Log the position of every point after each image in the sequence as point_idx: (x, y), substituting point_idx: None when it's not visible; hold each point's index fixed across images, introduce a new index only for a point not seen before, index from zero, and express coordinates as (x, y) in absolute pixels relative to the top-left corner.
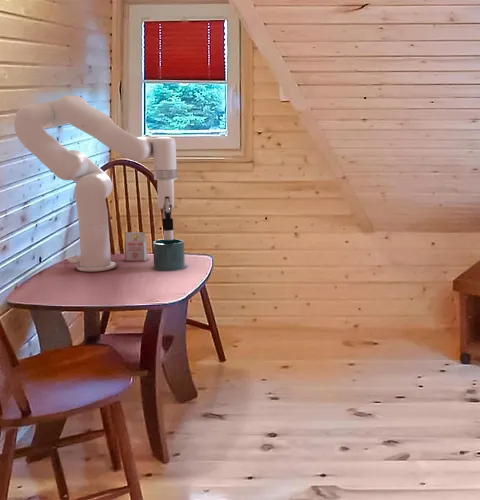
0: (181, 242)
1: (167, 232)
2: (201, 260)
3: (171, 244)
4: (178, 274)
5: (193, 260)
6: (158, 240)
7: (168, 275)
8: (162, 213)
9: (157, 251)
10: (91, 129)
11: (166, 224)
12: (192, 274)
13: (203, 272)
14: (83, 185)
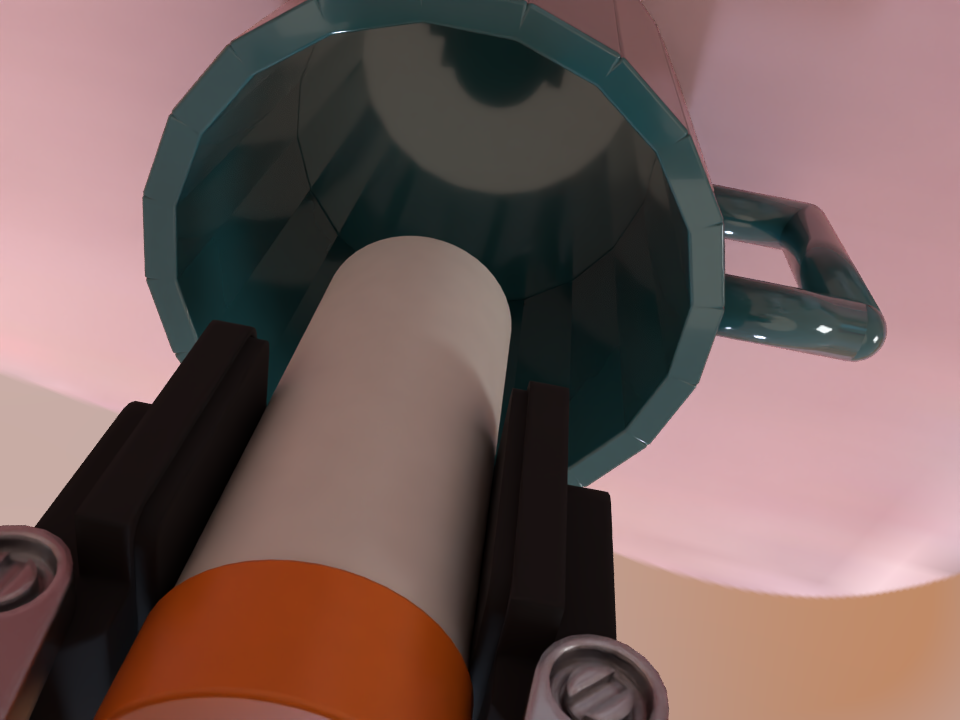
0: None
1: (286, 368)
2: (688, 520)
3: (150, 276)
4: (57, 139)
5: (735, 459)
6: (656, 154)
7: (21, 12)
8: (244, 691)
9: (285, 3)
10: None
11: (93, 464)
12: (32, 274)
13: (106, 388)
14: None
